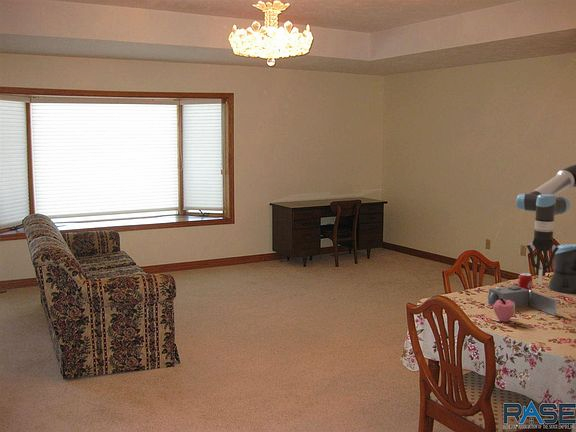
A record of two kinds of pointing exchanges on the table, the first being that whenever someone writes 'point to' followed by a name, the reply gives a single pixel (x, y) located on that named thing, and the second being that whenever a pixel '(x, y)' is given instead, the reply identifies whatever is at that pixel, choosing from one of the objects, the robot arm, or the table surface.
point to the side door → (542, 302)
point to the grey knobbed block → (509, 295)
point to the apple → (504, 309)
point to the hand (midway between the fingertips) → (540, 282)
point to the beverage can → (525, 281)
